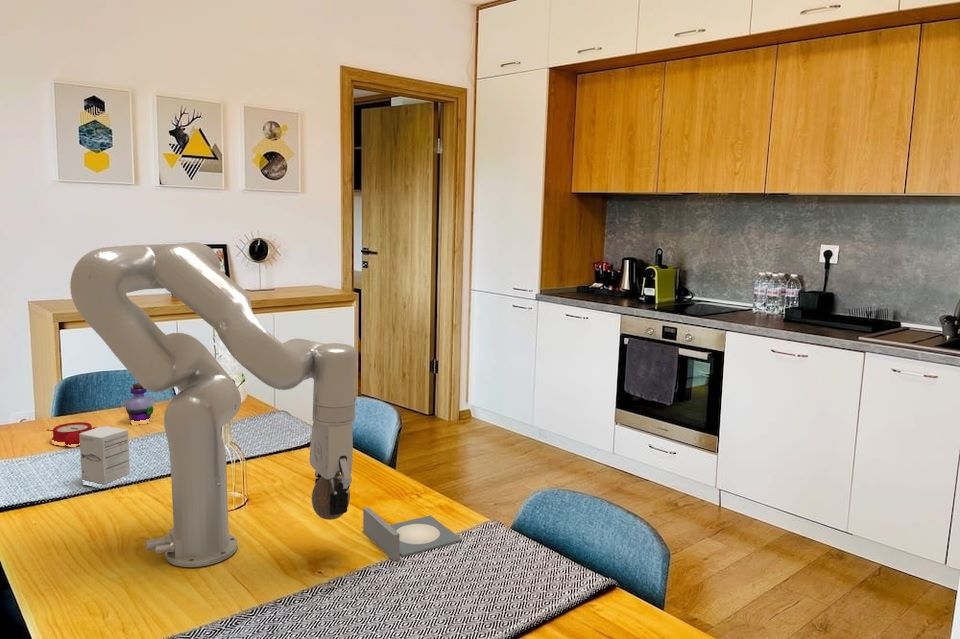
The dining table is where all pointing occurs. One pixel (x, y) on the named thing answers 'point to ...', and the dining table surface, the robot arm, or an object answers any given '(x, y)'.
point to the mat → (423, 535)
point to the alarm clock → (70, 432)
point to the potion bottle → (139, 404)
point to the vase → (324, 498)
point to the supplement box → (104, 454)
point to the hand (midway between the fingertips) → (330, 504)
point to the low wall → (381, 533)
